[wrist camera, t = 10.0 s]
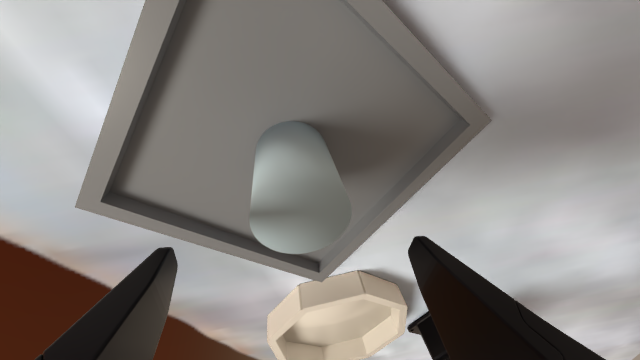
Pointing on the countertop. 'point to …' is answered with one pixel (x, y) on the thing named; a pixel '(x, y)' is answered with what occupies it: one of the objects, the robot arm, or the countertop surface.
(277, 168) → the peg
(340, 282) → the bowl
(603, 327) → the countertop surface
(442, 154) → the tray
